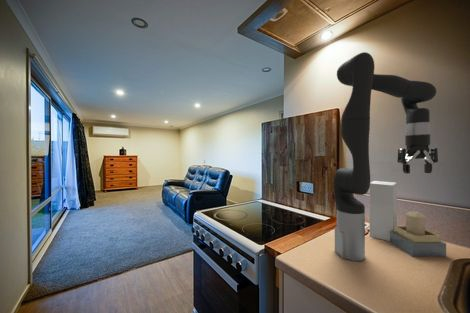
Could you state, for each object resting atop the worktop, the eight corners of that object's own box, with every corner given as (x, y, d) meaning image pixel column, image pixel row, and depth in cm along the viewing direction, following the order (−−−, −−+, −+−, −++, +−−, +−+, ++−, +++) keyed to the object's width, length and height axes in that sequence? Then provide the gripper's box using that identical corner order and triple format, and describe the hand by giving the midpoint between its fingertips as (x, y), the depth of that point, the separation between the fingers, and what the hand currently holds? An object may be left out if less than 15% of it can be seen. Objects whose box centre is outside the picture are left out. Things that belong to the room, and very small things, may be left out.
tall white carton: (393, 242, 82) (393, 185, 82) (369, 236, 89) (369, 182, 88) (397, 236, 88) (397, 182, 88) (373, 230, 95) (373, 180, 94)
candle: (428, 239, 73) (429, 214, 73) (412, 238, 74) (412, 213, 74) (418, 233, 79) (418, 209, 78) (402, 233, 80) (402, 209, 79)
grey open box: (412, 256, 71) (412, 236, 71) (389, 242, 82) (389, 225, 82) (446, 256, 71) (446, 236, 71) (418, 242, 82) (418, 225, 82)
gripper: (407, 133, 76) (407, 174, 76) (444, 133, 75) (444, 174, 76) (392, 135, 83) (392, 172, 84) (426, 134, 83) (426, 172, 83)
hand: (417, 173), depth 80 cm, fingers open, 8 cm apart
